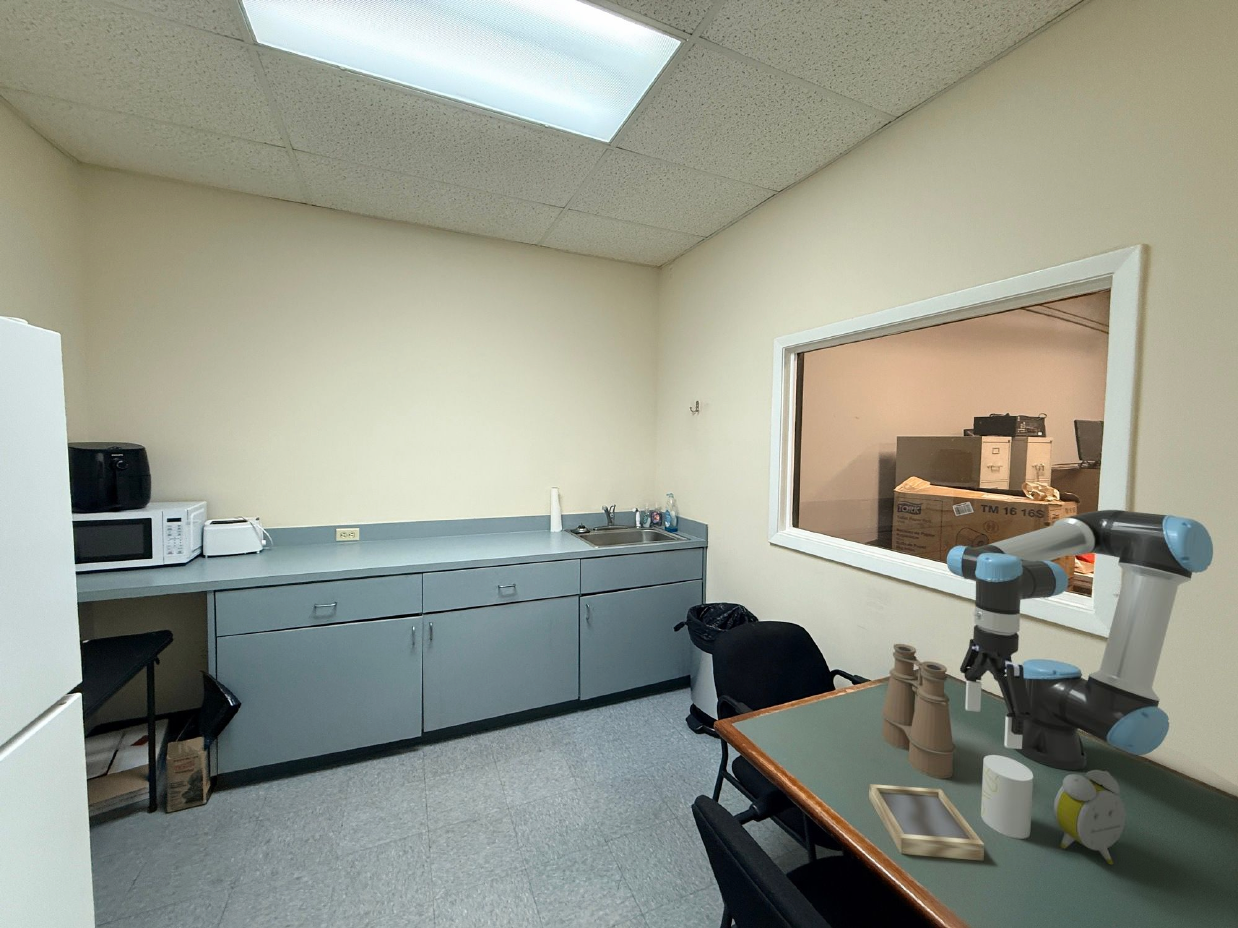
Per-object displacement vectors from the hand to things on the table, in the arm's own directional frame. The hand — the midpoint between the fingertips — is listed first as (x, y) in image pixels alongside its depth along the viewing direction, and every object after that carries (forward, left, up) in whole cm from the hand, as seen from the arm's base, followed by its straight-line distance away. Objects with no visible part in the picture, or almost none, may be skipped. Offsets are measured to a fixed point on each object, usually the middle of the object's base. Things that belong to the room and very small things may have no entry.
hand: (991, 727), depth 105 cm
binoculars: (+5, -21, -20) cm, 29 cm away
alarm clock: (-14, +8, -20) cm, 25 cm away
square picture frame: (+16, +5, -19) cm, 25 cm away
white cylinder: (-2, +2, -20) cm, 20 cm away
